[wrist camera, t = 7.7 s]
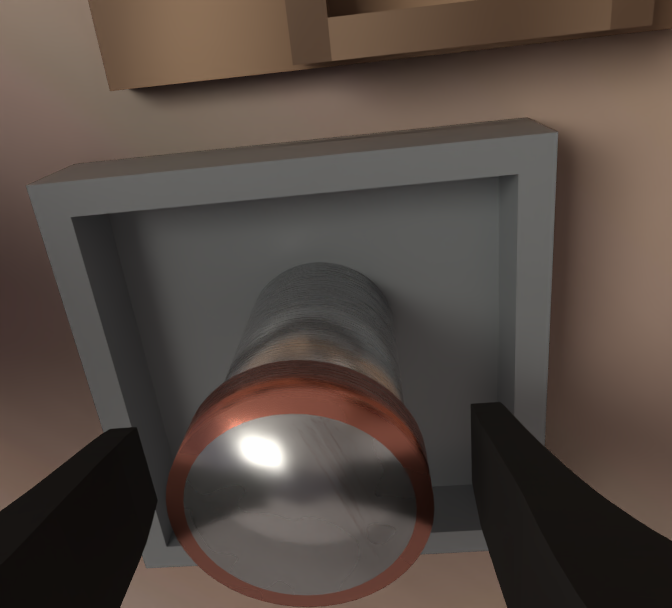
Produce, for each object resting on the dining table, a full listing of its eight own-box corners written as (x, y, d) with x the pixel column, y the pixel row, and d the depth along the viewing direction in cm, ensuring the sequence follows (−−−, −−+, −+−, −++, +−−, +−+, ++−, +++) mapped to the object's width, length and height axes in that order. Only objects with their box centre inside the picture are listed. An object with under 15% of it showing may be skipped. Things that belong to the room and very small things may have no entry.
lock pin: (249, 402, 18) (187, 607, 11) (229, 254, 16) (143, 401, 9) (405, 397, 17) (432, 605, 11) (404, 247, 16) (436, 393, 9)
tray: (170, 508, 20) (146, 568, 18) (74, 163, 16) (26, 185, 13) (518, 488, 19) (540, 548, 17) (527, 117, 15) (558, 132, 12)
